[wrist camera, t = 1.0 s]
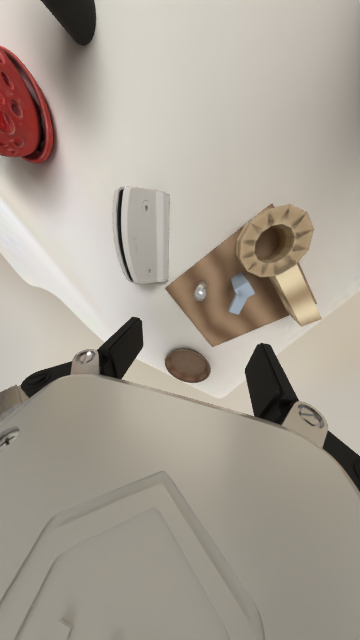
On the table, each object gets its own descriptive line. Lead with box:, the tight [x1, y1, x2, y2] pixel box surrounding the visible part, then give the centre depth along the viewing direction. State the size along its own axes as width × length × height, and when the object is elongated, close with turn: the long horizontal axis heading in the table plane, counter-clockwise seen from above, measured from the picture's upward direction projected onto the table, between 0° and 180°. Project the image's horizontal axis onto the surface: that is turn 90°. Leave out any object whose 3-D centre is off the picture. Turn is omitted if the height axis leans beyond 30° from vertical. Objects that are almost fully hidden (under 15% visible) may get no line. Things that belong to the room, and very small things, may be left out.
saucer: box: [165, 349, 210, 383], centre depth 46 cm, size 15×15×3 cm
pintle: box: [194, 280, 208, 301], centre depth 29 cm, size 2×2×8 cm
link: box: [236, 204, 321, 326], centre depth 24 cm, size 20×9×6 cm, turn 39°
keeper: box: [229, 272, 255, 315], centre depth 28 cm, size 5×5×8 cm
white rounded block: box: [113, 186, 170, 284], centre depth 27 cm, size 17×5×10 cm, turn 176°
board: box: [165, 204, 317, 347], centre depth 32 cm, size 24×21×1 cm
